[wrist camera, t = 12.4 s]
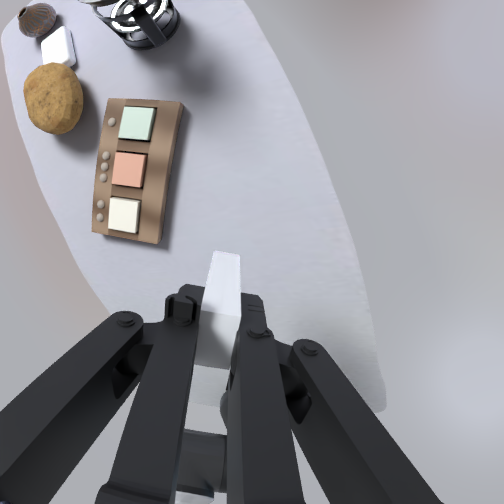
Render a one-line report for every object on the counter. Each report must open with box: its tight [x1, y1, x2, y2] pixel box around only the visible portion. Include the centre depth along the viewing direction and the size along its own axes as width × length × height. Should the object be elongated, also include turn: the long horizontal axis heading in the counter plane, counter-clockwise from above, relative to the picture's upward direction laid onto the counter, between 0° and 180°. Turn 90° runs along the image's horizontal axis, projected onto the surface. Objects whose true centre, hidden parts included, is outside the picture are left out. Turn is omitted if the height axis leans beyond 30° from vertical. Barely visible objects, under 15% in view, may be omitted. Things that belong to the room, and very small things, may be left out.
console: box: [92, 98, 184, 244], centre depth 35 cm, size 20×11×3 cm, turn 168°
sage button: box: [118, 107, 157, 141], centre depth 33 cm, size 4×4×3 cm
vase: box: [17, 3, 56, 37], centre depth 21 cm, size 7×7×9 cm
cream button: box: [108, 196, 142, 233], centre depth 37 cm, size 4×4×3 cm
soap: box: [41, 26, 76, 68], centre depth 27 cm, size 9×6×3 cm, turn 20°
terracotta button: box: [112, 152, 148, 187], centre depth 35 cm, size 4×4×3 cm
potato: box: [23, 62, 83, 135], centre depth 28 cm, size 10×14×8 cm
